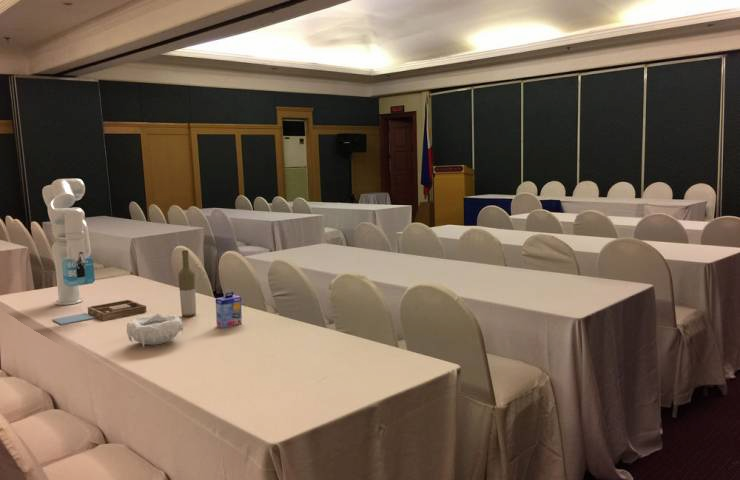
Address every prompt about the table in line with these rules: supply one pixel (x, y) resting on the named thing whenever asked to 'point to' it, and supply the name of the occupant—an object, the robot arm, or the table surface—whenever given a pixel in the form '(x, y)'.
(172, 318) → the bowl
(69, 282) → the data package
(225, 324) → the ink cartridge box
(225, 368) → the table surface
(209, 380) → the table surface
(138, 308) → the rack
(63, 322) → the mat
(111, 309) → the offcut stack
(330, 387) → the table surface
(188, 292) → the bottle
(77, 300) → the robot arm
